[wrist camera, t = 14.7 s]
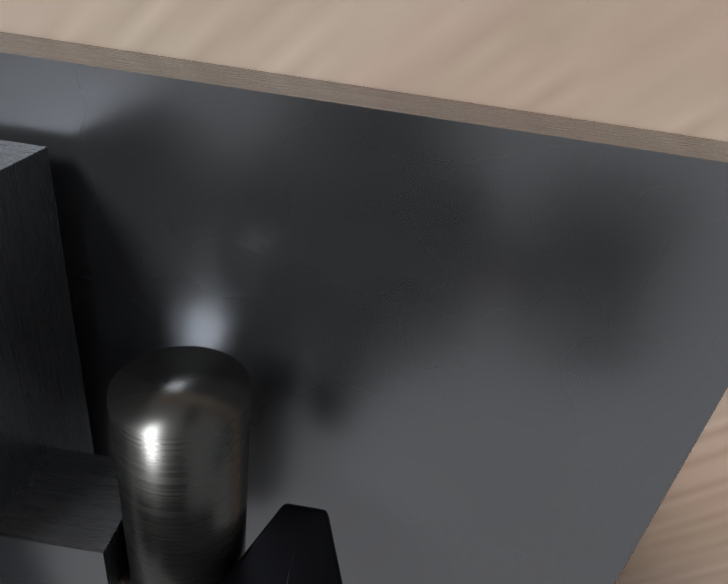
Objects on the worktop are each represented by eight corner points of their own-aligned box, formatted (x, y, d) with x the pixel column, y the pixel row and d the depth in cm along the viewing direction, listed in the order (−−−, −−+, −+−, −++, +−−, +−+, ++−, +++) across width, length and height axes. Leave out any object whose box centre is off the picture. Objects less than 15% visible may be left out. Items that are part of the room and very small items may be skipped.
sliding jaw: (289, 184, 7) (192, 345, 4) (260, 630, 12) (207, 849, 9) (-216, 106, 7) (-666, 208, 4) (-39, 581, 12) (-188, 781, 9)
